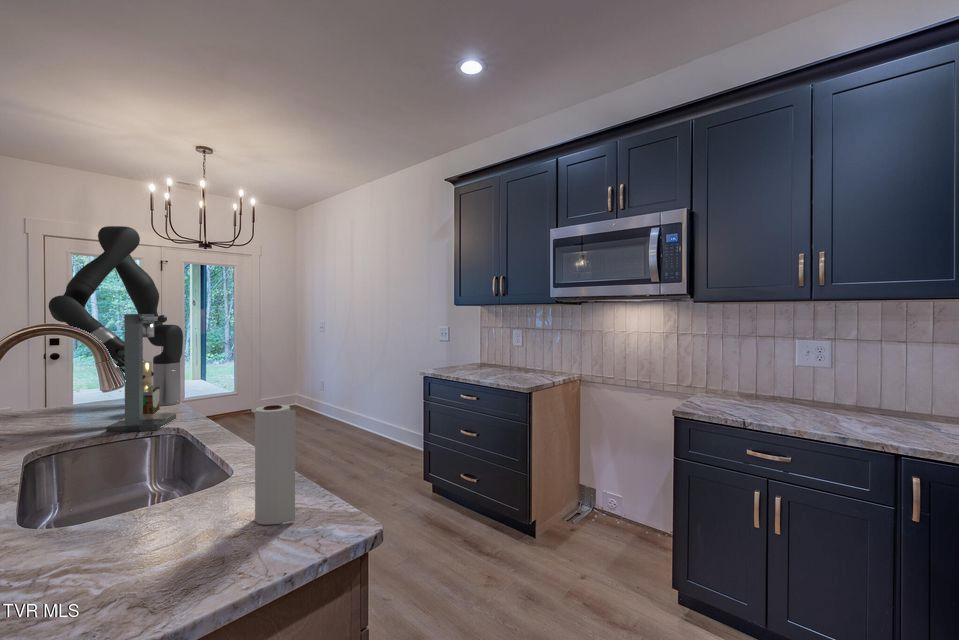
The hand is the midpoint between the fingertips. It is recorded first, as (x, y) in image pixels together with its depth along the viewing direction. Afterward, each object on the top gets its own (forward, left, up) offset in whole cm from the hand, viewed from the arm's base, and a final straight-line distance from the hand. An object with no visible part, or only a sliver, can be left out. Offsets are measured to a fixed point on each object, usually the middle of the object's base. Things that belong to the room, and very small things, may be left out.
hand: (147, 377), depth 150 cm
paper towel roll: (+86, +55, -16) cm, 103 cm away
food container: (-16, -7, -16) cm, 24 cm away
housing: (0, -2, -5) cm, 5 cm away
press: (+4, +1, -16) cm, 16 cm away
